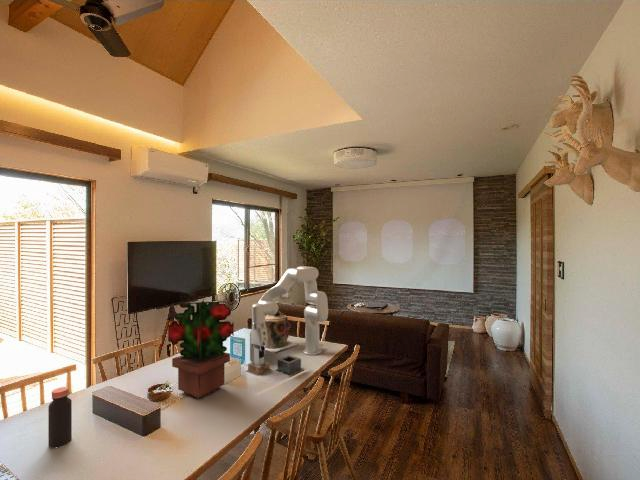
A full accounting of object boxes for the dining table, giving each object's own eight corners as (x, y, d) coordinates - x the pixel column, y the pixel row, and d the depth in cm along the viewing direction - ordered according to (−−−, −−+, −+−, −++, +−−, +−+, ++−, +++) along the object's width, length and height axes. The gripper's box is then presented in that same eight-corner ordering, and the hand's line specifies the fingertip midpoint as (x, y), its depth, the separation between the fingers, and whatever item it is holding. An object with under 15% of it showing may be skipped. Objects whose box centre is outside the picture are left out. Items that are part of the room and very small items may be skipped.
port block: (289, 365, 193) (289, 354, 193) (303, 370, 186) (303, 358, 186) (274, 371, 184) (274, 359, 184) (289, 377, 177) (289, 364, 177)
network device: (259, 365, 194) (259, 332, 194) (245, 364, 195) (245, 332, 195) (267, 350, 220) (267, 321, 220) (254, 350, 220) (254, 321, 220)
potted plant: (205, 377, 176) (205, 296, 176) (233, 387, 165) (233, 300, 165) (168, 394, 157) (168, 303, 157) (197, 406, 146) (197, 308, 146)
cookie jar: (251, 346, 229) (251, 302, 229) (276, 338, 248) (276, 297, 248) (274, 354, 213) (274, 306, 213) (299, 344, 232) (299, 301, 232)
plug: (259, 363, 187) (259, 343, 187) (264, 365, 184) (263, 344, 184) (254, 365, 184) (253, 344, 184) (258, 367, 181) (258, 346, 181)
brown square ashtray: (259, 366, 191) (259, 358, 191) (272, 371, 185) (272, 362, 185) (244, 372, 183) (244, 364, 183) (257, 377, 176) (257, 368, 176)
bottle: (47, 442, 120) (47, 389, 120) (70, 434, 125) (70, 383, 125) (49, 451, 115) (49, 395, 115) (72, 442, 120) (72, 389, 120)
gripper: (273, 325, 182) (273, 357, 182) (254, 321, 192) (254, 351, 192) (263, 328, 176) (263, 361, 176) (244, 324, 186) (244, 355, 186)
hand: (258, 356), depth 184 cm, fingers closed on plug, 4 cm apart
